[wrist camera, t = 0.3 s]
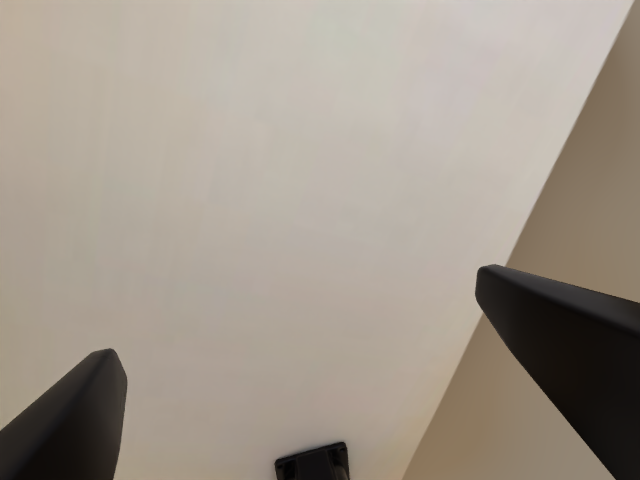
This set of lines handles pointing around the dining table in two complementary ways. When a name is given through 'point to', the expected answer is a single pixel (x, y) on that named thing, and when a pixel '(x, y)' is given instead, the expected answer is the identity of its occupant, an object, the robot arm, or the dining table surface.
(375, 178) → the dining table surface
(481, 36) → the dining table surface
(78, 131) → the dining table surface
